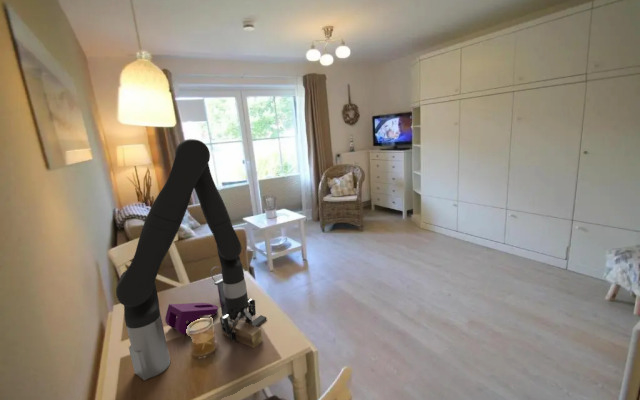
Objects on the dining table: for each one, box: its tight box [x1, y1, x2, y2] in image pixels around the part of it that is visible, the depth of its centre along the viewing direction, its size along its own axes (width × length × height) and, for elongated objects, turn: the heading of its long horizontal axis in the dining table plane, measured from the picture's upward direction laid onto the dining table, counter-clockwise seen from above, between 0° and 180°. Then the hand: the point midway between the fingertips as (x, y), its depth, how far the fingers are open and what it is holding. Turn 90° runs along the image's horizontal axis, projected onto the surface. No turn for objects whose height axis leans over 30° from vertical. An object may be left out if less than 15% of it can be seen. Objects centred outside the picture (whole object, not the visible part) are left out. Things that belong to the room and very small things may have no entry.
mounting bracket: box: [164, 302, 219, 336], centre depth 120 cm, size 9×8×18 cm
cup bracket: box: [214, 277, 228, 317], centre depth 123 cm, size 9×6×15 cm
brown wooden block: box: [221, 319, 263, 349], centre depth 108 cm, size 4×16×5 cm, turn 56°
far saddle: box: [252, 314, 268, 328], centre depth 117 cm, size 6×3×1 cm, turn 146°
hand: (241, 334), depth 109 cm, fingers open, 6 cm apart
